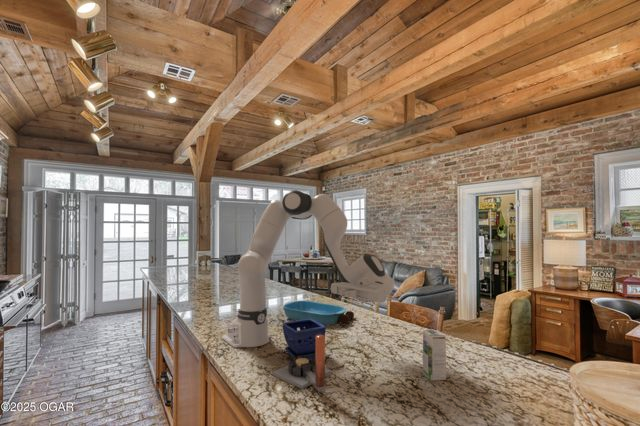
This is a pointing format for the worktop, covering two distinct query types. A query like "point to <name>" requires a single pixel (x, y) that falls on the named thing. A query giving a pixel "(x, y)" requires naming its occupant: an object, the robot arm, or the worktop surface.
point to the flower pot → (302, 337)
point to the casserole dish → (314, 311)
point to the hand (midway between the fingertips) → (343, 294)
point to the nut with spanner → (312, 366)
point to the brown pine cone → (346, 317)
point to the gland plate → (296, 380)
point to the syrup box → (434, 355)
